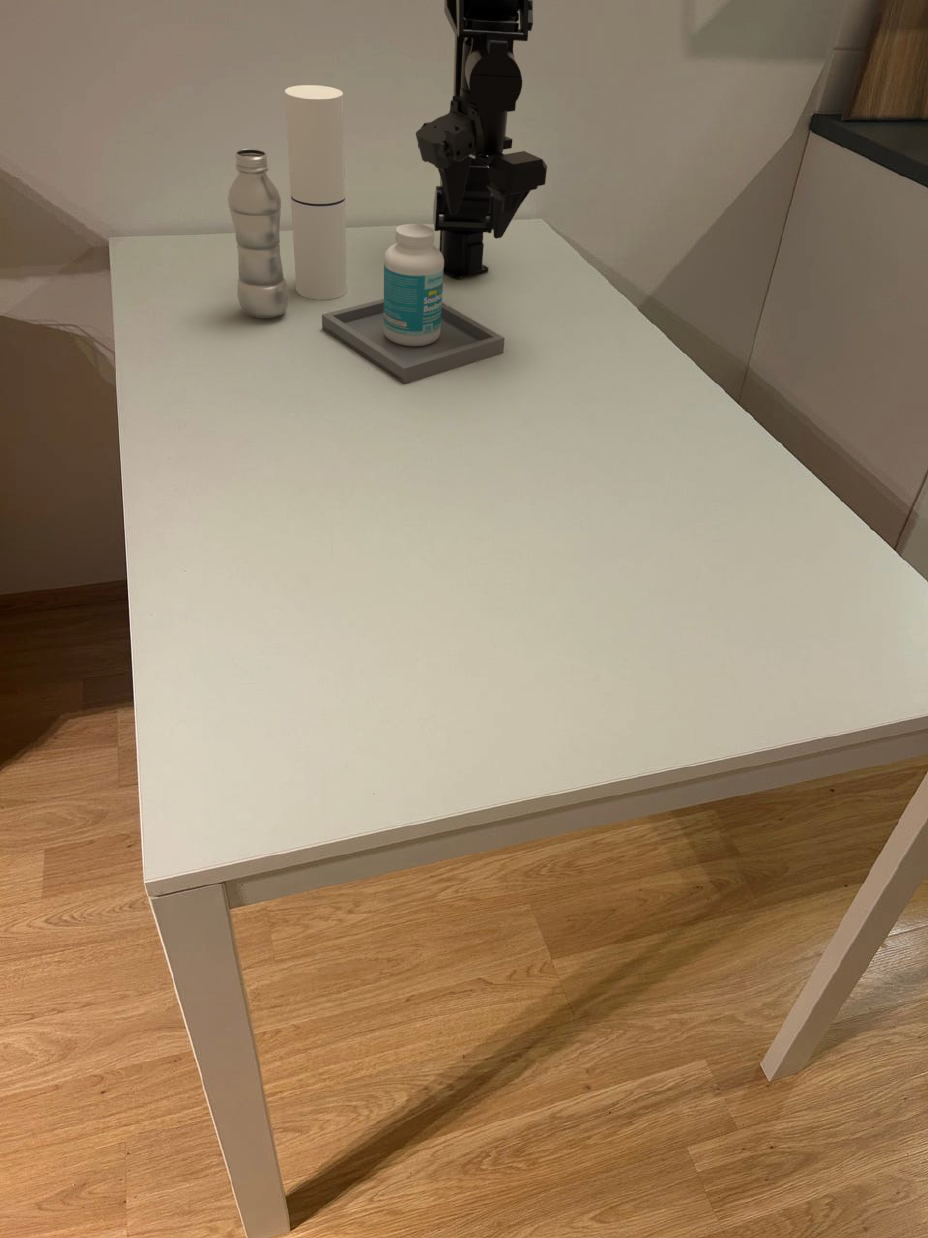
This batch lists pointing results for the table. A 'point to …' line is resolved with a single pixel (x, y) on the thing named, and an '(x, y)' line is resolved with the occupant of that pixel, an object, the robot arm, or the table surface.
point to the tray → (411, 363)
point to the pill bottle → (413, 287)
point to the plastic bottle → (257, 236)
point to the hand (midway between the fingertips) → (475, 225)
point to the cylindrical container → (317, 189)
